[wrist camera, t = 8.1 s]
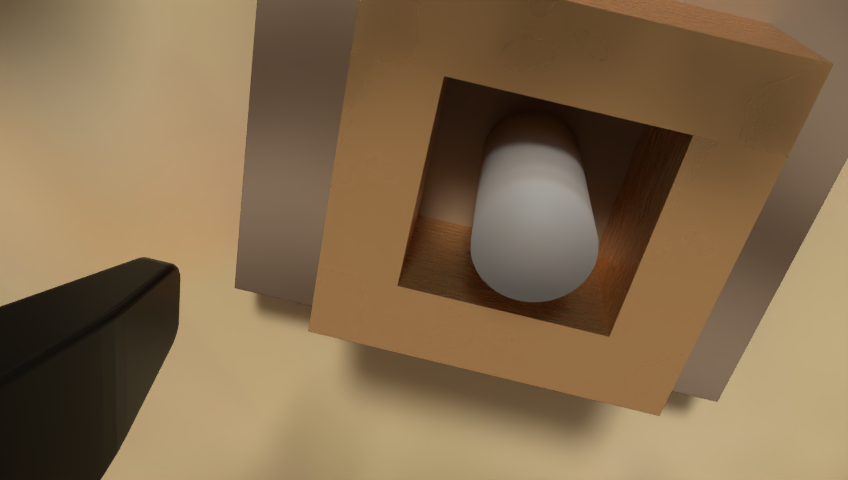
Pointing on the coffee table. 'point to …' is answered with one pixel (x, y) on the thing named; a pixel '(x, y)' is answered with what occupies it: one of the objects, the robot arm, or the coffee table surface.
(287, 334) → the coffee table surface
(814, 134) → the keeper plate
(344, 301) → the brown hollow square block
